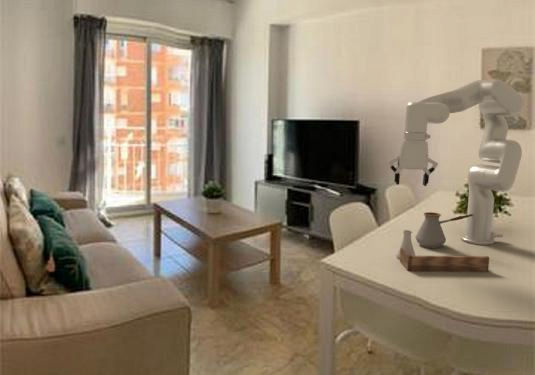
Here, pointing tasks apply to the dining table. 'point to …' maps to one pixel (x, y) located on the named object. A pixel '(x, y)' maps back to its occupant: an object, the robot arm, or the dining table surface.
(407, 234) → the flask
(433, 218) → the coffee pot
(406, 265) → the wooden block
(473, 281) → the dining table surface
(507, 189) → the robot arm
